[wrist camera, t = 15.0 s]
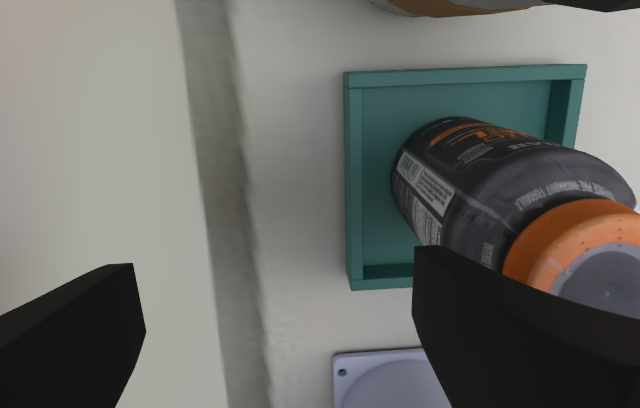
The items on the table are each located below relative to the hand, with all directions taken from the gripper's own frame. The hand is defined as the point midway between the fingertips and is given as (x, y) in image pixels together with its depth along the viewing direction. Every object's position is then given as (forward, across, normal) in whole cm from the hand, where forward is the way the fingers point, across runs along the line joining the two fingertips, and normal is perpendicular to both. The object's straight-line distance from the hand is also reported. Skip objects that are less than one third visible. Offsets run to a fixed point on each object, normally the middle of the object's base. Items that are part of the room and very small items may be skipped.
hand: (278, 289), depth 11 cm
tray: (+10, -8, 0) cm, 13 cm away
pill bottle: (+10, -8, 0) cm, 13 cm away
